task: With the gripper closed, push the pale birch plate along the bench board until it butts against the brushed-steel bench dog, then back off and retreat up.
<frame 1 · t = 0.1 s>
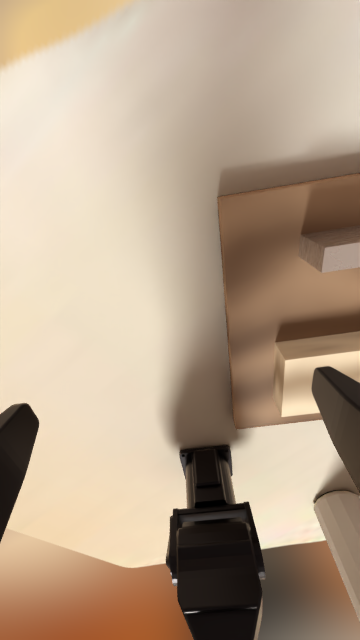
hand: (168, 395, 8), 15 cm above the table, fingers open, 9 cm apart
water bottle: (333, 501, 41), on the table
bench dog: (337, 233, 20), resting on bench board
bench board: (324, 321, 24), on the table
birch plate: (326, 365, 25), point 1 cm above the table, touching bench board
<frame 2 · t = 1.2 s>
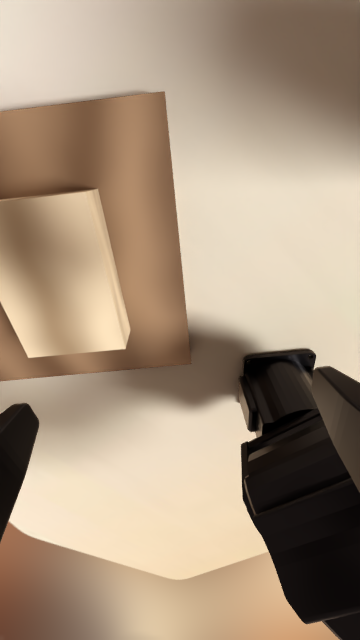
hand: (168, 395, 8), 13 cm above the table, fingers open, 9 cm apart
bench board: (21, 272, 19), on the table
birch plate: (66, 274, 18), point 1 cm above the table, touching bench board
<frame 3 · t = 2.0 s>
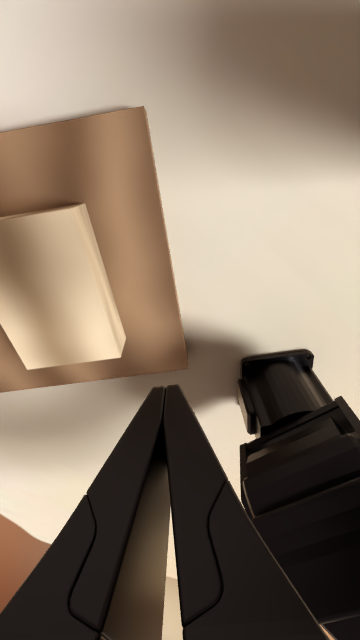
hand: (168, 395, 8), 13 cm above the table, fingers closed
bench board: (17, 286, 20), on the table
birch plate: (60, 286, 18), point 1 cm above the table, touching bench board
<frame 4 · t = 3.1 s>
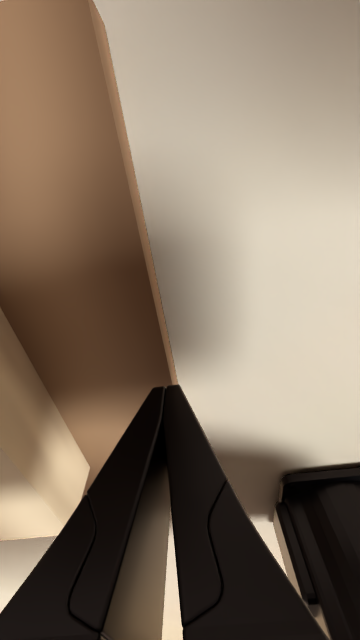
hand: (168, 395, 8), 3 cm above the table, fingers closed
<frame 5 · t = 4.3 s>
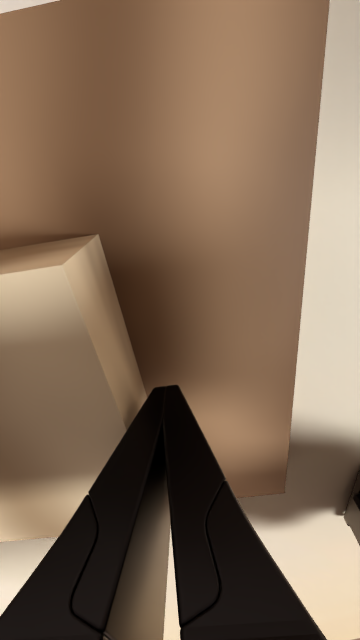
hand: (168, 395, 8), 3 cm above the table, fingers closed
birch plate: (46, 390, 9), point 2 cm above the table, touching gripper
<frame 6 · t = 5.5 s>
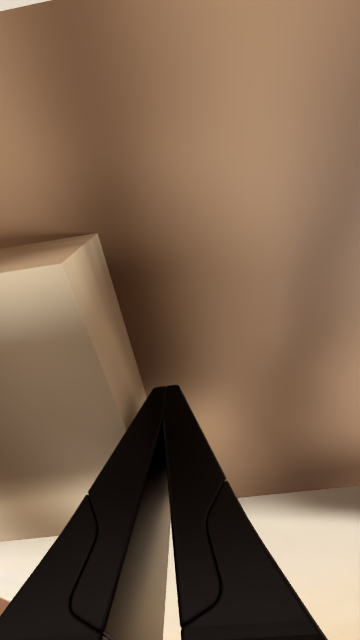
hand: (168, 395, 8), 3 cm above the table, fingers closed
bench board: (140, 351, 10), on the table
birch plate: (45, 389, 9), point 1 cm above the table, touching bench board, gripper
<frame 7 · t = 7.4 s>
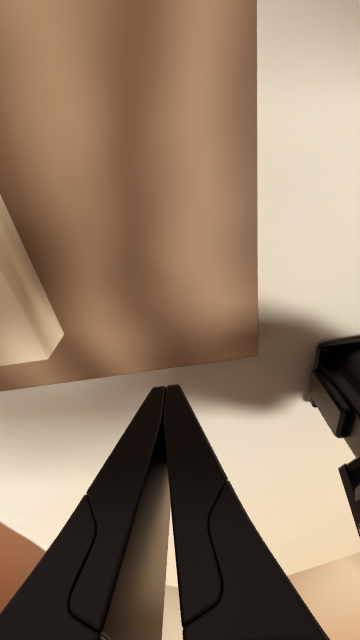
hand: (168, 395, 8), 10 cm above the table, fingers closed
bench board: (43, 248, 15), on the table
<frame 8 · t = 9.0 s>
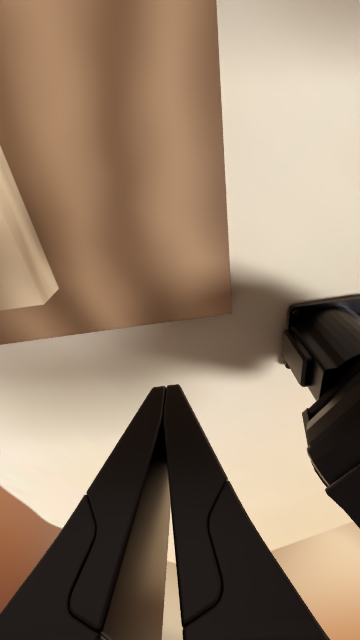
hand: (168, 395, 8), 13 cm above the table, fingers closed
bench board: (41, 209, 17), on the table
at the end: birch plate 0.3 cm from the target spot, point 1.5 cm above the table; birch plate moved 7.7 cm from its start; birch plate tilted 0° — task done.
